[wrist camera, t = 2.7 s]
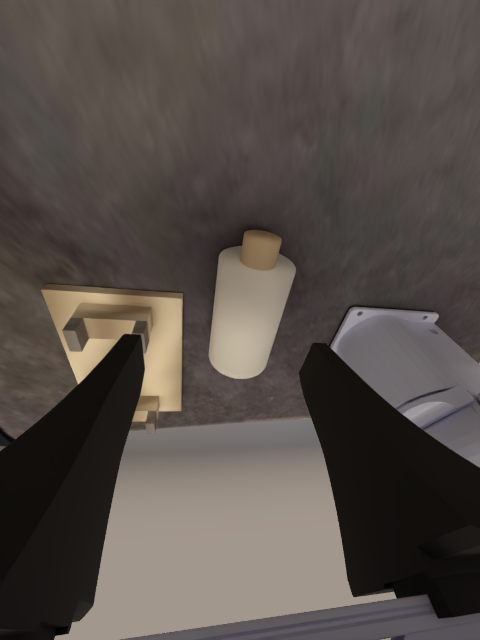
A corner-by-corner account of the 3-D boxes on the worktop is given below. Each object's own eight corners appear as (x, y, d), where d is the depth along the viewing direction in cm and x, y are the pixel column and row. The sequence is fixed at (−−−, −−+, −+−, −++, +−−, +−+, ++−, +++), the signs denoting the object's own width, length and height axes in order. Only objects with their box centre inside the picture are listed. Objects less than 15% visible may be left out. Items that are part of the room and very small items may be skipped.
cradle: (182, 293, 21) (178, 324, 17) (181, 404, 30) (178, 437, 27) (46, 283, 19) (14, 316, 16) (91, 405, 29) (77, 440, 25)
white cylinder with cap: (291, 227, 18) (315, 259, 14) (258, 348, 26) (267, 391, 22) (219, 218, 17) (223, 249, 13) (207, 347, 25) (207, 391, 21)
